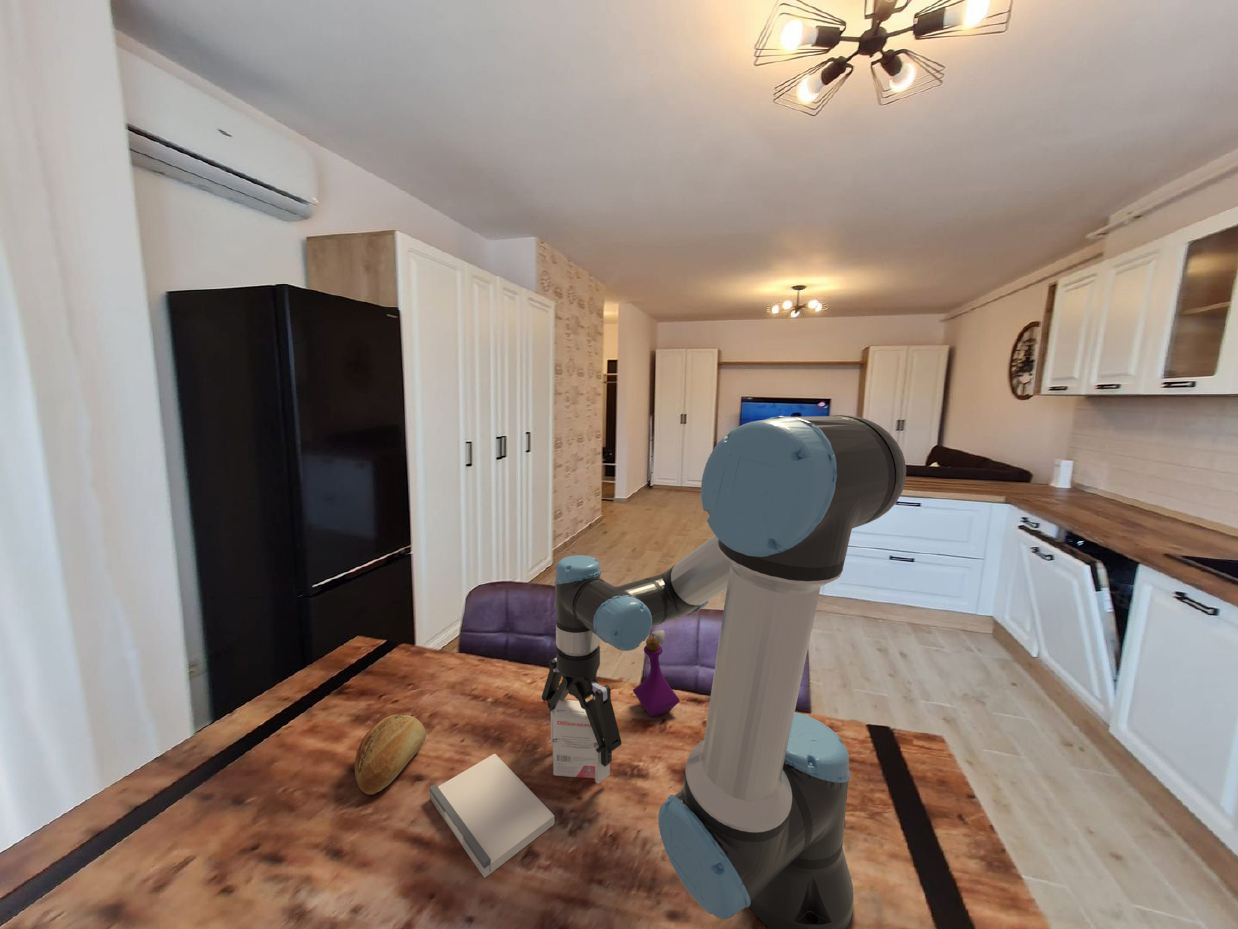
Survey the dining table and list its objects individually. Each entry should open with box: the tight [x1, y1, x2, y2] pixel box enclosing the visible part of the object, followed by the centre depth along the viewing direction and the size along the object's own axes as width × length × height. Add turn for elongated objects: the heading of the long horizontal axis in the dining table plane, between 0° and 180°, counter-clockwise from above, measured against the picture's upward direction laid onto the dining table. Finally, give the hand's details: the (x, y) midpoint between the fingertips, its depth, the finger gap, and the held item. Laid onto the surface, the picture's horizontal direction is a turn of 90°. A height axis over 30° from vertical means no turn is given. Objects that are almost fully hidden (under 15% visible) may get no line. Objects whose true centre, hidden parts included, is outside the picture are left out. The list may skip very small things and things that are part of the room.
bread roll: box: [354, 713, 427, 795], centre depth 84 cm, size 10×15×8 cm, turn 174°
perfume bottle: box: [632, 629, 681, 718], centre depth 99 cm, size 8×8×18 cm
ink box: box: [551, 699, 604, 780], centre depth 84 cm, size 9×5×12 cm, turn 84°
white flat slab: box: [429, 753, 555, 879], centre depth 76 cm, size 18×12×2 cm
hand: (579, 758), depth 85 cm, fingers open, 12 cm apart
